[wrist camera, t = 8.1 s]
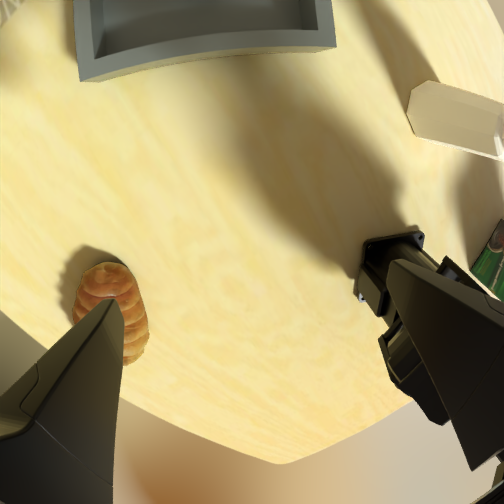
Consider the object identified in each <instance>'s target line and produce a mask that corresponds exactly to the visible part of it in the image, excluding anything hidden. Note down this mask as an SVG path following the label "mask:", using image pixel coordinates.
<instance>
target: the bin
mask: <svg viewBox="0 0 504 504" xmlns="http://www.w3.org/2000/svg"><path fill="white" fill-rule="evenodd" d="M73 12H74V30H75V42H76V53H77V62H78V71H79V78H80V82H102V81H105V80H109V79H112V78H116V77H119V76H123V75H127V74H131V73H135V72H139V71H143V70H148V69H152V68H157V67H162V66H167V65H172V64H177V63H183V62H189V61H195V60H202V59H209V58H217V57H226V56H236V55H248V54H264V53H316V52H319V51H323V50H328V49H332V48H336V47H337V46H336V36H335V27H334V18H333V10H332V2H331V0H73Z"/></svg>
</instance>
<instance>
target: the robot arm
mask: <svg viewBox="0 0 504 504" xmlns="http://www.w3.org/2000/svg"><path fill="white" fill-rule="evenodd" d="M419 236H420V237H419ZM424 237H425V235H424V233H423V232H421V231H415V232H409V233H403V234H398V235H392V236H387V237H381V238H375V239H370V240H367V241H366V242H365V243H364V245H363V253H362V262H361V265H360V269H359V277H358V285H357V289H358V294H357V299H358V300H359V302H367V304H368V305H369V306H370V308H371V309H372V311H373V312H374V314H375V315H376V316H377V317H382V318H383V319H384V321H385V322H386V324H387V325H388V327H389V329H388V330H387V331H386V332H385V333H384V334H382V335H381V336H380V337H379V338H378V342H379V345H380V348H381V351H382V354H383V358H384V361H385V364H386V367H387V370H388V373H389V377H390V379H391V381H392V382H393V383H394V384H395V386H396V387H397V388H398V389H400V390H401V391H402V392H403V393H405V394H406V395H408V396H410V397H412V398H413V399H414V400H415V401H416V402H417V404H418V405H419V406H420V408H421V409H422V410H423V412H424V413H425V415H426V416H427V418H428V419H429V420H430V421H432V422H434V423H436V424H438V425H441V426H443V425H445V424H446V423H447V422H448V421H450V420H451V422H452V425H453V427H454V429H455V432H456V434H457V437H458V439H459V441H460V444H461V447H462V449H463V451H464V454H465V456H466V459H467V462H468V465H469V467H470V469H471V471H474V470H475V469H477V468H478V467H480V466H481V465H483V464H484V463H486V462H487V461H489V460H490V459H491V458H493V457H494V456H496V457H497V458H498V459H499V461H500V462H501V464H499V465H498V466H497V469H496V473H495V477H494V481H493V485H492V488H491V490H489V491H488V492H486V493H485V494H484V495H482V496H481V497H479V498H478V499H477V500H475V501H474V502H472V503H471V504H504V302H502V301H499V300H497V299H495V298H492V297H491V296H490V295H489V294H488V293H487V292H486V291H485V290H484V289H483V288H481V287H480V286H479V285H478V284H477V283H476V282H475V281H474V280H473V279H472V278H471V277H470V276H469V275H468V274H467V273H466V272H464V271H463V270H462V269H461V268H460V267H459V266H458V265H457V264H456V263H454V262H453V261H452V260H451V259H450V258H449V257H447V256H445V257H444V259H443V260H442V261H443V262H442V263H441V265H439V264H438V263H437V262H436V261H435V260H434V259H433V258H431V257H430V256H429V255H428V254H427V253H426V252H425V251H424V250H423V249H422V248H423V242H424ZM369 245H371V246H370V247H368V246H369ZM124 329H125V322H124V317H123V315H122V312H121V310H120V307H119V305H118V302H117V300H116V299H115V298H108V299H103V300H102V301H100V302H99V303H98V304H97V305H96V306H95V307H94V308H93V309H92V310H91V311H89V312H88V313H87V314H86V315H85V316H84V317H83V318H82V319H81V320H80V321H79V322H77V323H76V324H75V325H74V326H73V327H72V328H71V329H70V330H69V331H68V332H67V333H66V334H65V335H64V336H63V337H62V338H60V339H59V340H58V341H57V342H56V343H55V344H54V345H53V346H52V347H51V348H50V349H49V350H48V351H47V352H46V353H45V354H44V355H43V356H42V357H41V358H40V359H39V360H38V361H37V363H35V364H34V365H33V366H32V367H31V368H30V369H29V370H28V371H27V372H26V373H25V374H24V375H23V376H22V377H21V378H20V379H19V380H18V381H17V382H15V383H14V384H13V385H12V386H11V387H10V388H9V389H8V390H6V391H5V392H4V393H3V394H2V395H1V396H0V504H113V487H112V486H113V466H114V447H115V433H116V421H117V411H118V402H119V393H120V385H121V377H122V369H123V352H124Z"/></svg>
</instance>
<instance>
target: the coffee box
mask: <svg viewBox="0 0 504 504" xmlns="http://www.w3.org/2000/svg"><path fill="white" fill-rule="evenodd" d="M470 272H471V273H472V274H473V275H474V276H475V277H476V278H477V279H478V280H479V281H480V282H481V283H482V284H483V285H485V286H486V287H487V288H488V289H489V290H490V291H491V292H492V293H493V294H494V295H495V296H496V297H497V298H499V299H500V300H501V301H502V302H504V220H502V219H501V220H500V222H499V224H498V226H497V228H496V229H495V231H494V233H493V235H492V237H491V239H490V240H489V242H488V244H487V245H486V247H485V249H484V250H483V252H482V254H481V255H480V257H479V258H478V259H477V261H476V263H475V265H474V266H473V268H472V269H471V271H470Z"/></svg>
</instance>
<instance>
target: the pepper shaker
mask: <svg viewBox="0 0 504 504" xmlns="http://www.w3.org/2000/svg"><path fill="white" fill-rule="evenodd" d="M406 114H407V116H408V119H409V121H410V123H411V126H412V128H413V131H414V133H415V136H416V137H418V138H421V139H423V140H426V141H428V142H431V143H433V144H438V145H442V146H447V147H451V148H455V149H459V150H463V151H467V152H471V153H474V154H478V155H482V156H485V157H489V158H492V159H495V160H499V161H502V162H504V104H502V103H500V102H497V101H494V100H492V99H489V98H486V97H483V96H481V95H478V94H475V93H472V92H469V91H466V90H462V89H459V88H456V87H453V86H449V85H446V84H442V83H438V82H435V81H431V80H427V81H426V82H424V83H422V84H421V85H419V86H417V87H416V88H414V89H412V90H411V95H410V100H409V104H408V109H407V113H406Z"/></svg>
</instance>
